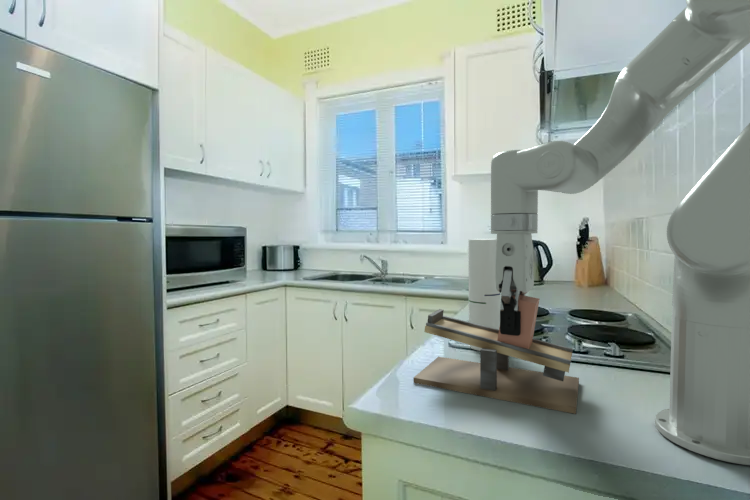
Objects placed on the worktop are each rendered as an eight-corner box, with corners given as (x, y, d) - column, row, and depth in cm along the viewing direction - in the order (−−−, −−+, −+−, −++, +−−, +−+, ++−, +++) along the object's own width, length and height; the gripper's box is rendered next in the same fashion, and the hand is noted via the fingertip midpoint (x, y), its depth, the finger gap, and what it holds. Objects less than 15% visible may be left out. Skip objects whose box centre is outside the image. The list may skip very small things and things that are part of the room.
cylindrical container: (504, 351, 89) (504, 239, 87) (472, 351, 89) (472, 239, 87) (495, 342, 96) (495, 238, 94) (465, 342, 96) (465, 238, 95)
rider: (531, 342, 70) (539, 298, 69) (527, 350, 65) (535, 303, 64) (502, 335, 72) (509, 292, 71) (496, 342, 68) (504, 296, 67)
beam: (569, 368, 68) (574, 340, 68) (566, 384, 61) (572, 354, 61) (437, 332, 80) (441, 308, 79) (422, 342, 73) (426, 316, 72)
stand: (578, 383, 70) (579, 341, 70) (575, 413, 59) (576, 363, 58) (438, 361, 83) (438, 325, 82) (413, 382, 71) (413, 341, 71)
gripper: (530, 224, 58) (529, 346, 59) (543, 224, 73) (542, 322, 74) (479, 225, 62) (479, 340, 63) (501, 225, 77) (501, 318, 78)
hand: (513, 329), depth 69 cm, fingers closed on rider, 5 cm apart
